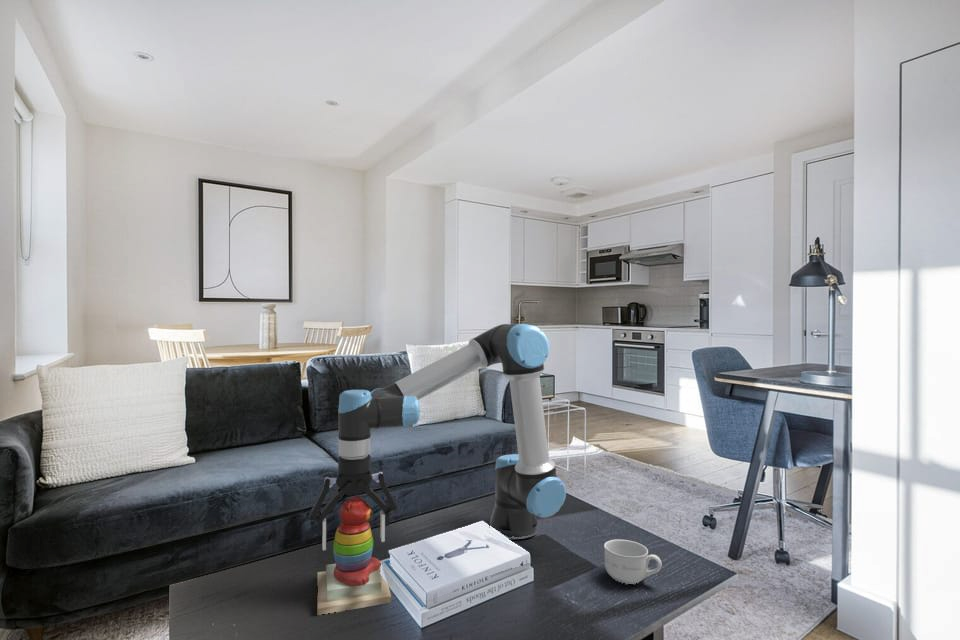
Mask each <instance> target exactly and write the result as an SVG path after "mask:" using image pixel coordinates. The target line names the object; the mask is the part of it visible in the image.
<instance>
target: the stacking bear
mask: <svg viewBox="0 0 960 640" xmlns="http://www.w3.org/2000/svg"><path fill="white" fill-rule="evenodd" d="M339 515H340V520H341V521H342V522H341V523H340V524H339V525H338V527H337V529H336V531H335V534H334V539H333V545H332V546H333V547H332V548H333V549H332V550H333V551H332V553H333V554H332V555H333V558H334V562H335V563H334V564H336V567H335V569H334V577H335V578H336V579H337V580H338V581H340V582H342V583H345V584H348V585H354V586H361V585H364V584H366V583H367V582H368V581H369V575H370V574H371V573H372V572H373V571H376V570H378V569H379V568H380V566H381V563H382V562H381V561H380V560H379V559H378V558H376V557H373V556H372V555H373V550H374V536H373V533H372V529H371V525H370V522H369V519H370V518H371V516H372V507H370V505H369V504H368V503H367V502H366V500H365V499H363V498H361V497H360V496H359V495H356V494H355V495H353V497H352V498H349V499H347V500H345V501H344V502H343V503H342V504H341V506H340V509H339Z"/></svg>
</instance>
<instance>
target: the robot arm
mask: <svg viewBox="0 0 960 640" xmlns="http://www.w3.org/2000/svg"><path fill="white" fill-rule="evenodd" d="M549 355H550V342H549V339H548V336H546V334H545V332H544V331H543V330H541V329H540V328H539V327H537V326H535V325H532V324H527V323H511V324H509V323H503V324H498V325H497V326H494V327H492V328H490V329H488V330H486V331H484V332H482V333H481V334H479V335H477V336H475V337H473V338H471V339H469V341H468V343H467V345H464V346H462V347H461V348H459V349H457V350H455V351H453V352H452V353H449V354H448V355H445V356H444V357H442V358H440V359H438V360H436V361H434V362H432V363H430V364H428V365H426V366H424V367H422V368H420V369H418V370H416V371H414V372H413V373H411V374H408V375H407V376H404V377H403V378H400V379H399V380H397V381H395V382H394V383H391V384H389V385H387V386H384V387H379V388H374V389H373V390H371V391H370V390H367V389H348V390H344V391H342V392H341V393H340V394H339V398H338V399H339V400H338V410H337V412H338V413H337V415H338V416H337V417H338V419H337V420H338V439H337V440H338V444H337V445H338V446H337V449H338V451H337V454H338V456H339V457H338V459H337V460H338V461H337V462H338V463H337V475H336V477H330V476H329V475H327V476H325V477H324V480H323V486H322V488H321V490H320V492H319V494H318V496H317V498H316V500H315V502H314V504H313V506H312V508H311V510H310V512H309V514H308V516H309V518H308V519H309V521H316V523H317V532H316V533H317V535H318V536H322V541H321V542H322V544H321V545H322V548H321V549H322V551H327V516H328V515H329V513H331V511H332V510H333V508H335V506H336V505H337V503H338V502H339V501H340V500H341V499H342V498H343V497H344V495H345V496H348V497H351V496H356V495H358V496H359V495H362V494H363V493H365V494H366V495H367V496H368V497H369V498H370V499H371V500H372V501H373V502H374V503H375V504H376V505H377V506H378V507H379V508H380V514H379V515H380V518H379V519H380V520H379V521H380V522H379V524H380V525H379V526H380V530H379V531H380V532H379V533H380V534H379V537H380V541H381V543H385V541H386V527H389V526H390V514H391V512H392V511H396V510H397V509H398V506H397V504H396V501H395V500H394V498H393V496H392V494H391V492H390V490H389V488H388V487H387V484H386V483H385V478H384V477H385V476H384V473H383V472H382V471H380V470H379V471H377V473H371V455H370V453H371V452H372V451H371V450H372V449H371V448H372V447H371V446H372V445H371V443H372V442H371V433H372V432H371V431H372V430H376V429H387V428H388V429H389V428H401V427H403V428H405V427H409V426H410V427H411V426H414V425H417V424H418V423H419V420H420V416H421V409H420V401H419V400H421V399H423V398H425V397H427V396H429V395H430V394H432V393H434V392H436V391H438V390H439V389H442V388H444V387H445V386H448V385H449V384H451V383H453V382H455V381H457V380H458V379H461V378H463V377H464V376H466V375H469V374H470V373H471V372H474V371H475V370H477V369H479V368H480V369H487V368H488V367H491V366H492V365H497V364H501V367H502V375H504V376H505V377H506V378H508V381H509V388H510V395H511V403H512V404H511V405H512V413H513V420H514V427H515V428H514V429H515V437H516V446H517V452H518V453H516V454H515V453H513V454H505V455H500V456H499V457H497V458H496V460H495V468H494V469H495V488H494V490H495V492H494V493H495V494H494V495H495V499H494V500H495V502H494V507H493V510H492V512H491V516H490V519H489V526H490V525H491V526H492V527H493V528H495V529H496V530H498V531H500V532H501V533H502V534H504V535H506V536H508V537H512V536H514V537H522V536H528V535H531V534H533V533H535V532H536V531H537V529H538V530H539V522H538V519H537V517H539V518H548V517H551V516H554V515H555V514H557V512H559V511H560V509H561V507H562V506H563V505H564V503H565V501H566V496H567V489H566V485H565V483H564V482H563V481H562V480H561V478H559V477H558V476H557V468H556V463H555V461H554V460H553V459H551V458H550V454H549V446H548V437H547V428H546V421H545V420H546V419H545V413H544V412H545V411H544V404H543V394H542V387H541V378H540V376H541V374H542V373H543V372H544V371H545V366H544V363H545V362H546V361H547V358H548V357H549ZM373 480H374V481H375V482H376V483H378V484H379V486H380V488H381V490H382V492H383V494H384V496H385V499H386V500H387V502H388V504H387V503H386V502H384V500H383V499H382V498H381V497H380V496H379V495H378V494H377V493H376V492H375V491H374V490H373V488H372V487H371V486H370V484H371V483H372V481H373ZM334 484H336V485H337V486H338V488H337V490H336V491H335V493H334V494H333V496H331V498H330V499H329V501H328V502H327V503H326V504H325V506H323V508H322V509H321V510H320V508H321V506H322V505H323V502H324V501H325V498H326V497H327V495H328V492H329V490H330V488H332V487H333V486H334ZM319 510H320V512H319Z"/></svg>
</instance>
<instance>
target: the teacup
mask: <svg viewBox="0 0 960 640" xmlns="http://www.w3.org/2000/svg"><path fill="white" fill-rule="evenodd" d="M603 547H604V567H605V571H606V573H607V574H608V575H609V576H610V577H611V578H612V579H613V580H614V579H615V580H614V581H615V582H617V581H618V582H617V583H620V582H621V583H620V584H623V583H625V584H624V585H628V584H633V585H637V584H639V583H640V582H642V581H643V580H644V579H646V578H649V577H650V576H651V575H654V574H657V573H658V572H659V571H661V569H662V566H663V564H662V560H661V558H660V557H659V556H658V555H656V554H649V549H648V548H647V547H646V546H645V545H644V544H642V543H639V542H636V541H634V540H627V539H618V538H617V539H610V540H608V541H606V542H604V544H603ZM650 560H654V561H655V562H656V564H657V566H656V567H655V568H653V569H649V568H648V566H649V565H650ZM636 583H637V584H636Z"/></svg>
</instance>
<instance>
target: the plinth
mask: <svg viewBox="0 0 960 640" xmlns="http://www.w3.org/2000/svg"><path fill="white" fill-rule="evenodd" d="M335 567H336V563H332V564H331V563H330V564H326V565H325V570H324V571H317V586H318V593H317V594H318V595H317V596H316V597H317V601H316V602H317V615H316V616H317V617H318V615H319V616H323V615H322V614H325V615H329V614H328V613H330V614H335V613H334V612H336V613H341V612H346V610H347V611H351V610H357V609H358V610H359V609H362V608H367V607H368V608H369V607H374V606H380V605H385V604H390V603H392V594H391V590H390V587H389V582H388V581H387V582H388V583H387V582H386V581H385V580H384V579H383V578H382V576H381V574H380V568H379V569H378V570H376V571H373V572H372V573H371V574H370V575H369V581H368V582H367V583H366V584H364V585H361V586H354V585H348V584H345V583H342V582H340V581H338V580H337V579H336V578H335V577H334V569H335Z"/></svg>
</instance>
